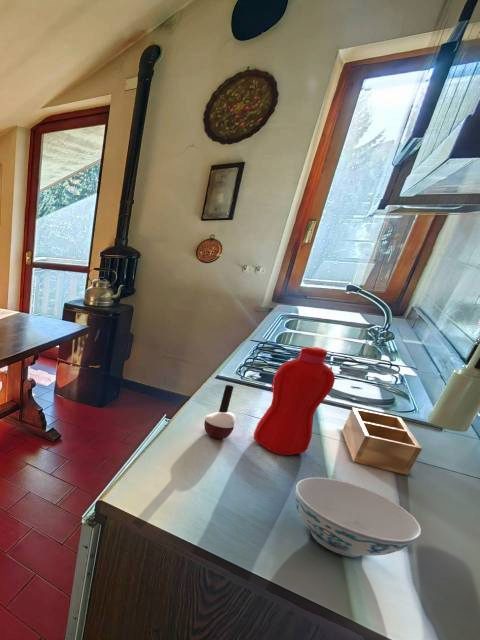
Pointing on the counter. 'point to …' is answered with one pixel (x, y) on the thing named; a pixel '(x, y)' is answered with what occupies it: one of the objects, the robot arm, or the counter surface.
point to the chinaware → (353, 518)
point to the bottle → (459, 399)
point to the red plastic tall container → (295, 402)
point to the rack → (380, 441)
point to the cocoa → (221, 418)
